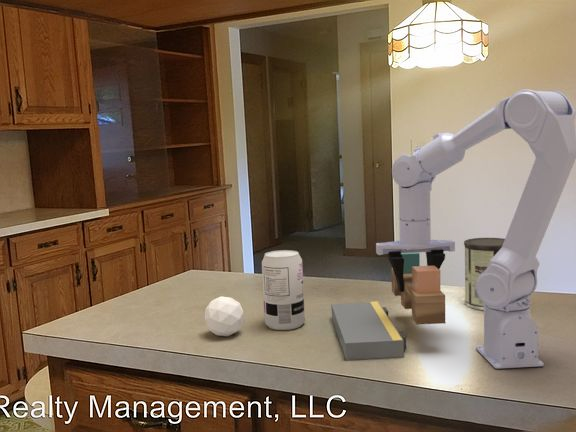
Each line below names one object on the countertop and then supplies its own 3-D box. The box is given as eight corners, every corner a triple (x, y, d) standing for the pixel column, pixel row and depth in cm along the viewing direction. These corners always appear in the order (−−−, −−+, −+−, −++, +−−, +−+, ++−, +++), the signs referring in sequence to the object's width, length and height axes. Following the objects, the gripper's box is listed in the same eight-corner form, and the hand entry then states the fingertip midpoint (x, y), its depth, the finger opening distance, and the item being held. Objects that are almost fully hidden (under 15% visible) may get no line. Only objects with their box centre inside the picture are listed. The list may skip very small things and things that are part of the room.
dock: (409, 356, 101) (409, 339, 101) (345, 360, 101) (345, 342, 101) (383, 315, 125) (383, 301, 125) (331, 317, 125) (331, 303, 124)
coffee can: (509, 298, 133) (509, 236, 132) (517, 311, 123) (518, 245, 122) (462, 297, 136) (461, 237, 134) (466, 310, 126) (466, 245, 124)
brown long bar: (445, 323, 102) (445, 295, 101) (416, 324, 102) (416, 296, 101) (415, 290, 124) (415, 266, 123) (391, 291, 124) (391, 267, 123)
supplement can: (259, 322, 124) (255, 252, 122) (295, 316, 127) (292, 248, 125) (273, 333, 116) (270, 259, 114) (311, 326, 120) (308, 254, 118)
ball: (215, 349, 117) (189, 318, 117) (239, 324, 123) (214, 295, 122) (235, 338, 112) (207, 306, 111) (258, 313, 117) (232, 282, 117)
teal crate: (419, 273, 117) (419, 253, 117) (399, 273, 117) (399, 254, 117) (415, 268, 121) (414, 249, 121) (395, 269, 121) (395, 250, 121)
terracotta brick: (440, 293, 103) (440, 270, 102) (417, 294, 103) (417, 271, 102) (434, 287, 107) (434, 265, 106) (412, 288, 106) (412, 266, 106)
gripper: (447, 214, 114) (447, 282, 116) (372, 218, 114) (374, 286, 116) (458, 219, 107) (458, 292, 109) (379, 223, 107) (380, 295, 109)
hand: (415, 289), depth 112 cm, fingers closed on brown long bar, 5 cm apart
